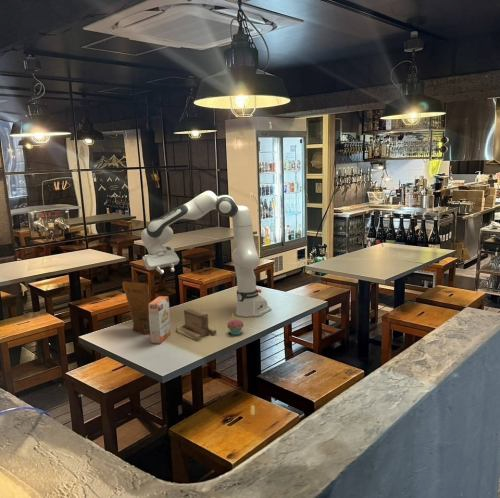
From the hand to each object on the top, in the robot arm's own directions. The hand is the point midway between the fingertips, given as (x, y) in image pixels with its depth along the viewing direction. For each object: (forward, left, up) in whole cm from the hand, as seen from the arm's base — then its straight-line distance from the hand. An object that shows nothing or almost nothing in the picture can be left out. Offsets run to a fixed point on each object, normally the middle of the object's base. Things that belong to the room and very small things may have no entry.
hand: (168, 272), depth 253 cm
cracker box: (+17, +16, -30) cm, 38 cm away
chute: (0, +24, -29) cm, 38 cm away
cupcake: (-14, +39, -30) cm, 51 cm away
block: (0, +24, -30) cm, 38 cm away
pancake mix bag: (+19, -1, -30) cm, 35 cm away
